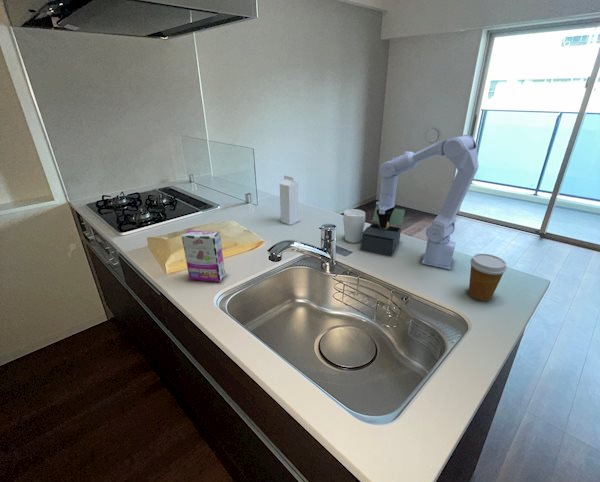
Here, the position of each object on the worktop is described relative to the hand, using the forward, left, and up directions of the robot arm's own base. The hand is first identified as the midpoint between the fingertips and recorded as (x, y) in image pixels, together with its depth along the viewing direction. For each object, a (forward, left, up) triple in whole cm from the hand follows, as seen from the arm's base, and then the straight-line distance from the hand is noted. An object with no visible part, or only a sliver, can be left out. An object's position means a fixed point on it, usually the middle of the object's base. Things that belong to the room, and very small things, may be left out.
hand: (384, 225), depth 129 cm
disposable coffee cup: (-36, +23, -8) cm, 43 cm away
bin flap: (0, -6, +2) cm, 6 cm away
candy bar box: (+46, +53, -8) cm, 71 cm away
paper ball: (0, 0, 0) cm, 0 cm away
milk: (+46, -4, -8) cm, 47 cm away
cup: (+12, +2, -8) cm, 15 cm away
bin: (0, +3, -8) cm, 8 cm away
